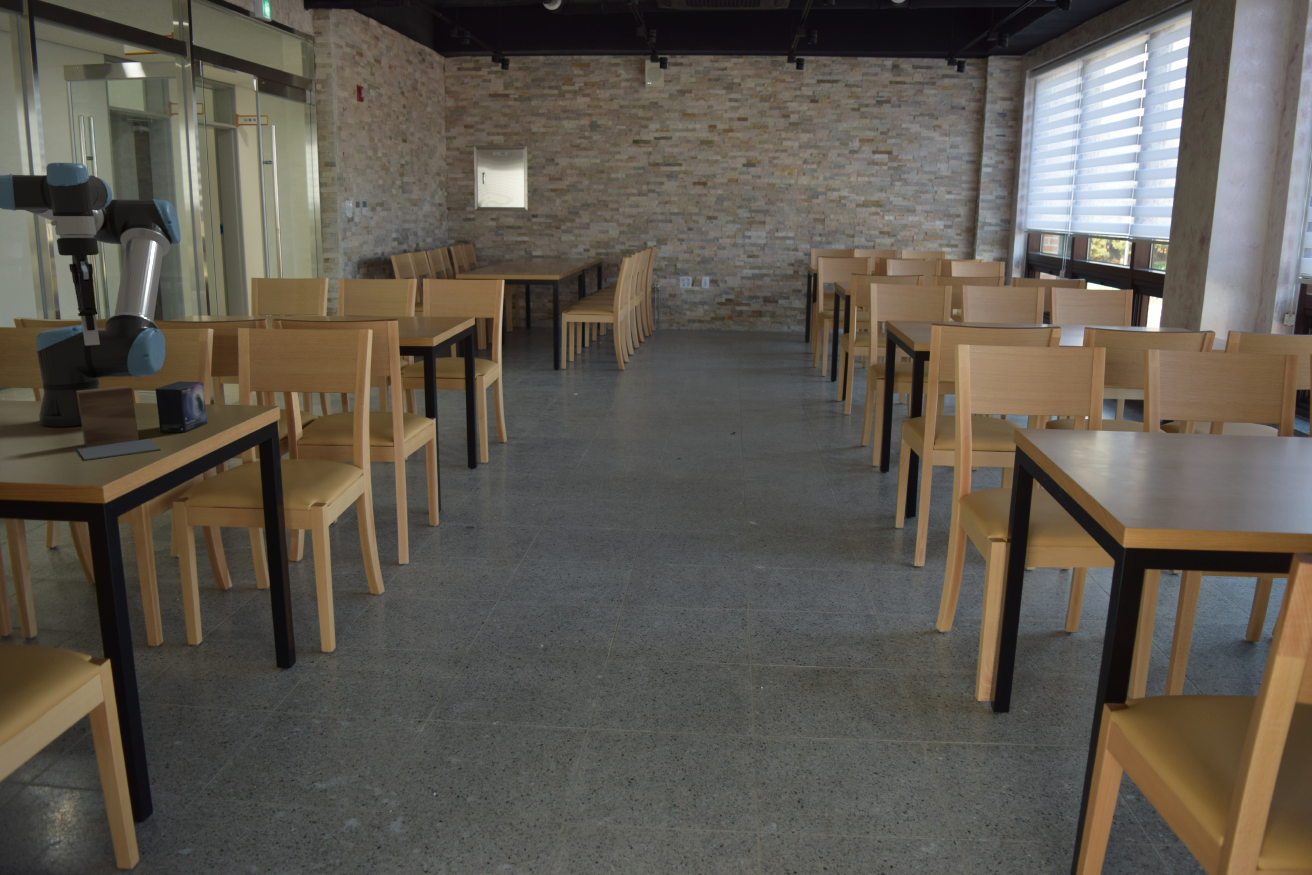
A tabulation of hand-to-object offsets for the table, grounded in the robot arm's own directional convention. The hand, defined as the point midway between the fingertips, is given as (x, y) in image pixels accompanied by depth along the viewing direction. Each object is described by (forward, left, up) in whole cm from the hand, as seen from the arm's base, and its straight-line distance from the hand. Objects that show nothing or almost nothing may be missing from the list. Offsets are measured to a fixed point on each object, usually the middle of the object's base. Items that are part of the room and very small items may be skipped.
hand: (92, 344), depth 203 cm
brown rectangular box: (+8, 0, -21) cm, 23 cm away
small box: (+2, +16, -21) cm, 27 cm away
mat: (+17, 0, -21) cm, 27 cm away
